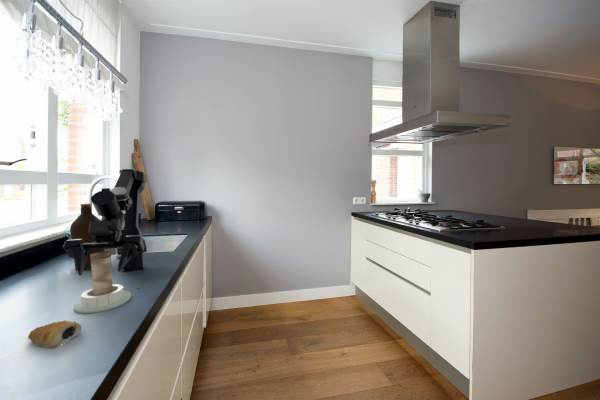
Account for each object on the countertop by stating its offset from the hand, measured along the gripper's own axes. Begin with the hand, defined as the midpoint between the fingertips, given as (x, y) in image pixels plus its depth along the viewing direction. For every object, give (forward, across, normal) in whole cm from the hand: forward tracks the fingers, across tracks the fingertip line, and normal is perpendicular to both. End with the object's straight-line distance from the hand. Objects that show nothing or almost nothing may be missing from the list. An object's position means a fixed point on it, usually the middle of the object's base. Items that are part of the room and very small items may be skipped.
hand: (99, 272), depth 75 cm
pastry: (+18, -3, -5) cm, 19 cm away
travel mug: (-31, -8, +44) cm, 55 cm away
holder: (+5, 0, +7) cm, 9 cm away
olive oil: (-23, -18, +36) cm, 46 cm away
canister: (+5, 0, +7) cm, 8 cm away
